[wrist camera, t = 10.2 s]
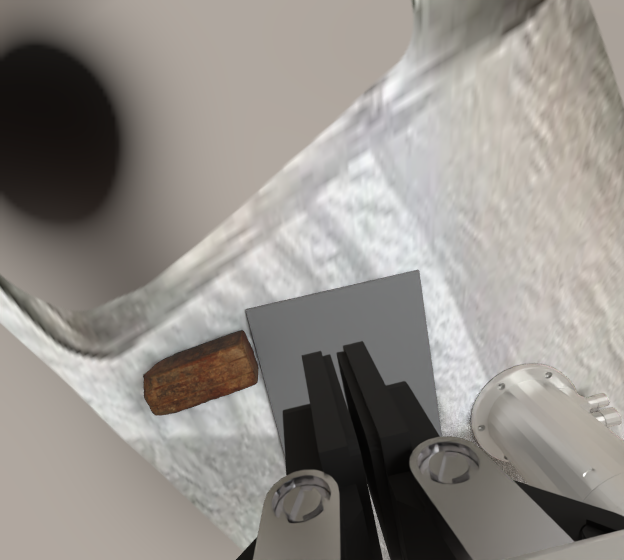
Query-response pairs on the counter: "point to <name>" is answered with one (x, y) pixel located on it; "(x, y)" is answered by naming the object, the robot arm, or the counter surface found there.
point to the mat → (346, 339)
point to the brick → (201, 374)
